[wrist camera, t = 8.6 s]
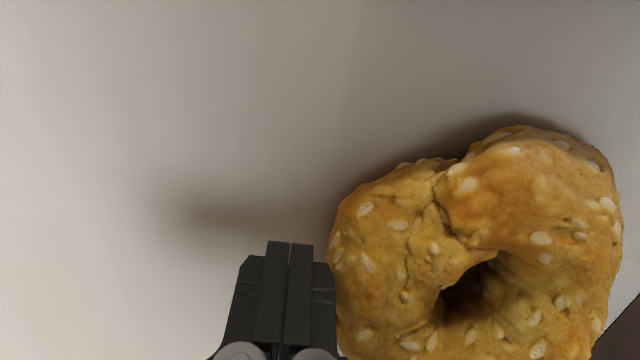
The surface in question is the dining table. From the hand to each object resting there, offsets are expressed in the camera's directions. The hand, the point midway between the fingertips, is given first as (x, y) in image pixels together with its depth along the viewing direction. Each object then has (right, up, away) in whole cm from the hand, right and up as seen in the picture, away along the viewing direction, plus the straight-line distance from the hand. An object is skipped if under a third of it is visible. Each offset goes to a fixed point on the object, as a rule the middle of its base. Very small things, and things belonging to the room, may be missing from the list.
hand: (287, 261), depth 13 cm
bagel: (+6, +1, +2) cm, 7 cm away
